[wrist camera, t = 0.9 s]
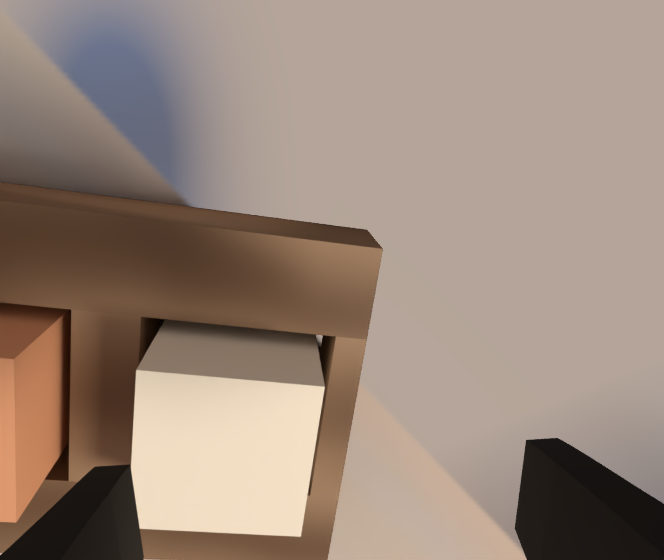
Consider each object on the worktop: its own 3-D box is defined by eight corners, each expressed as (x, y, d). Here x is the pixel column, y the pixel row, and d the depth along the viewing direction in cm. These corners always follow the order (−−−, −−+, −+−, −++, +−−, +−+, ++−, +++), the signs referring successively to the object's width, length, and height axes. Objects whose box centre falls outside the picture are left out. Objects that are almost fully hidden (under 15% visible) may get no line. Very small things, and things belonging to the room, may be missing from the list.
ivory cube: (296, 458, 20) (300, 536, 16) (157, 448, 19) (127, 528, 15) (315, 332, 18) (324, 386, 15) (165, 317, 18) (136, 370, 14)
